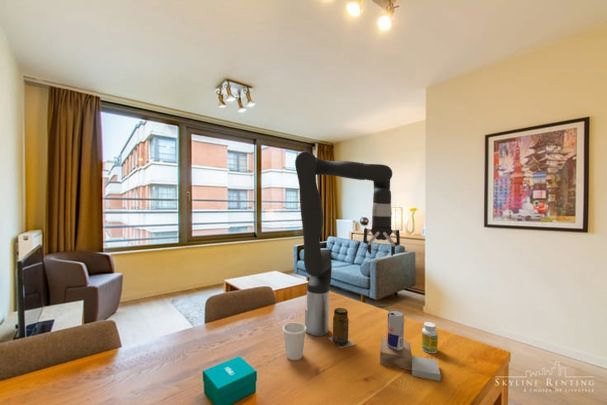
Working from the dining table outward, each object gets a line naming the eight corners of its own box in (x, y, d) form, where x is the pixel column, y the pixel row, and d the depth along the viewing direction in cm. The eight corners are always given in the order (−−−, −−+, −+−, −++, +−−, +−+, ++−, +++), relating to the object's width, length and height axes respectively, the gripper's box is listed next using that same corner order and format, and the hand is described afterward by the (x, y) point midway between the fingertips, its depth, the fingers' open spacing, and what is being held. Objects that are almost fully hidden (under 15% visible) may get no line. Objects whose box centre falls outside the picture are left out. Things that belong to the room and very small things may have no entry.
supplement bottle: (426, 344, 105) (427, 319, 105) (440, 351, 101) (441, 325, 101) (418, 348, 102) (419, 323, 102) (432, 355, 98) (432, 329, 98)
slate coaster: (412, 375, 87) (412, 369, 87) (410, 361, 94) (410, 355, 94) (440, 381, 84) (440, 374, 84) (436, 365, 92) (436, 360, 92)
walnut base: (380, 363, 93) (380, 352, 92) (381, 348, 102) (381, 337, 102) (411, 369, 89) (411, 357, 89) (409, 353, 99) (410, 342, 99)
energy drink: (384, 343, 98) (385, 310, 98) (399, 342, 99) (399, 309, 98) (391, 351, 93) (391, 316, 93) (406, 350, 93) (406, 316, 93)
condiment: (343, 334, 112) (343, 305, 112) (355, 344, 105) (356, 313, 104) (327, 338, 109) (328, 308, 109) (339, 349, 101) (339, 317, 101)
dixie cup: (278, 359, 94) (278, 330, 94) (288, 347, 102) (288, 320, 102) (301, 364, 92) (301, 335, 91) (309, 351, 99) (309, 324, 99)
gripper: (362, 214, 110) (362, 255, 110) (400, 216, 105) (399, 258, 106) (364, 213, 117) (364, 251, 117) (400, 215, 112) (399, 254, 113)
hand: (381, 254), depth 111 cm, fingers open, 8 cm apart
